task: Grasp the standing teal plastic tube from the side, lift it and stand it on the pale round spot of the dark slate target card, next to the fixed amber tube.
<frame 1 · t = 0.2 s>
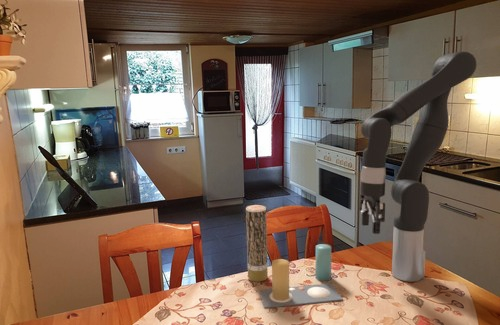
hand: (370, 229, 118), 18 cm above the table, tool pointing down, fingers open, 8 cm apart
teal tube: (323, 277, 123), on the table
amber tube: (280, 297, 111), resting on target card
wooden log: (257, 278, 125), on the table
target card: (299, 295, 112), on the table
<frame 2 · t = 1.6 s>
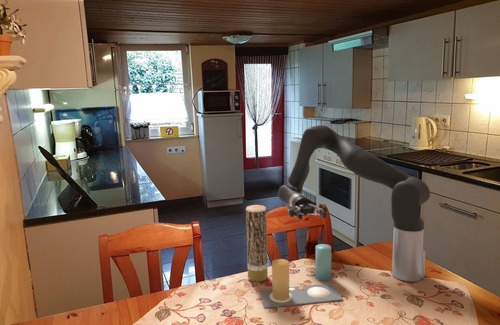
hand: (312, 216, 131), 18 cm above the table, tool horizontal, fingers open, 8 cm apart
nothing on the table moved.
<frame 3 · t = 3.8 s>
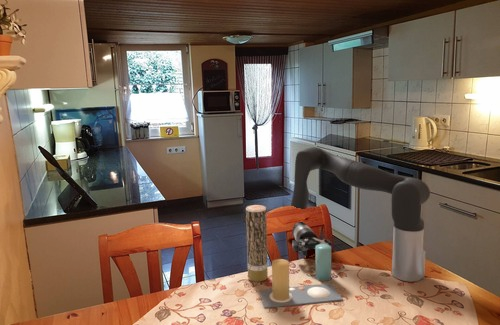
hand: (317, 252, 128), 6 cm above the table, tool horizontal, fingers open, 8 cm apart
nothing on the table moved.
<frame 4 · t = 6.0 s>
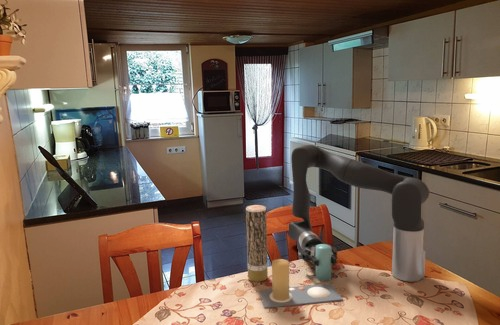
hand: (326, 262, 120), 7 cm above the table, tool horizontal, fingers closed on teal tube, 5 cm apart
teal tube: (323, 277, 123), on the table, touching gripper
everything else where it was.
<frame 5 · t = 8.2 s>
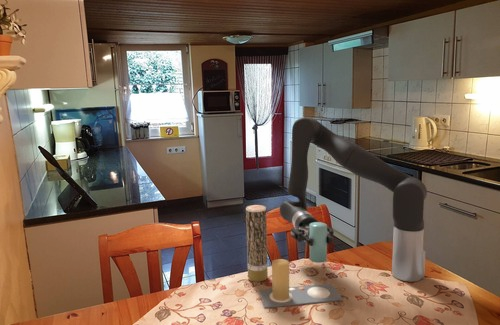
hand: (321, 242, 108), 18 cm above the table, tool horizontal, fingers closed on teal tube, 5 cm apart
teal tube: (318, 259, 112), point 11 cm above the table, touching gripper
everything else where it was.
when the fingers open (8 cm above the table, at t = 10.5 s): teal tube drops 1 cm, resting on target card.
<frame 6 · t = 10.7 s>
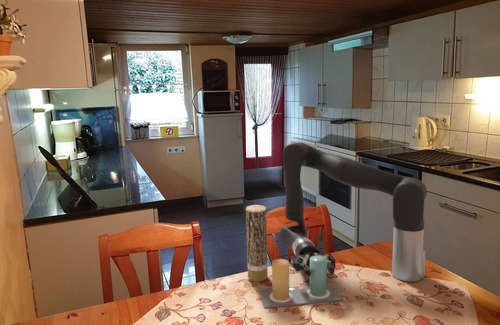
hand: (321, 272, 110), 8 cm above the table, tool horizontal, fingers open, 6 cm apart
teal tube: (318, 292, 113), resting on target card
everything else where it was.
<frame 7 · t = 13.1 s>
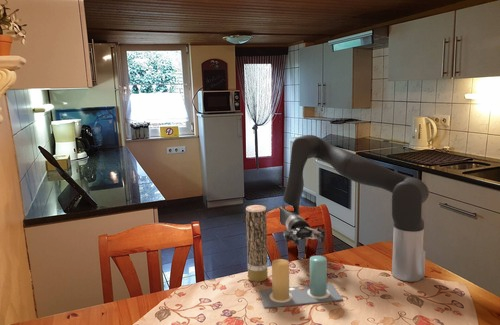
hand: (310, 241, 123), 13 cm above the table, tool horizontal, fingers open, 8 cm apart
nothing on the table moved.
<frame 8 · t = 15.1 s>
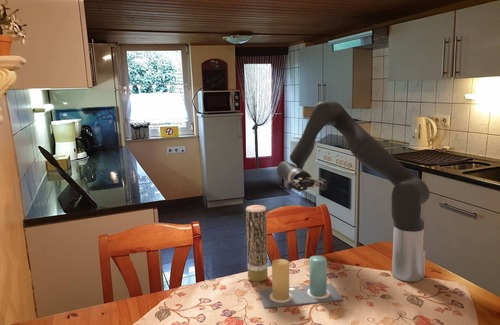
hand: (312, 188, 124), 30 cm above the table, tool horizontal, fingers open, 8 cm apart
nothing on the table moved.
at the end: teal tube inside the target area (0.1 cm from its centre), point 0.5 cm above the table; teal tube tilted 0°; the gripper is holding nothing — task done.
